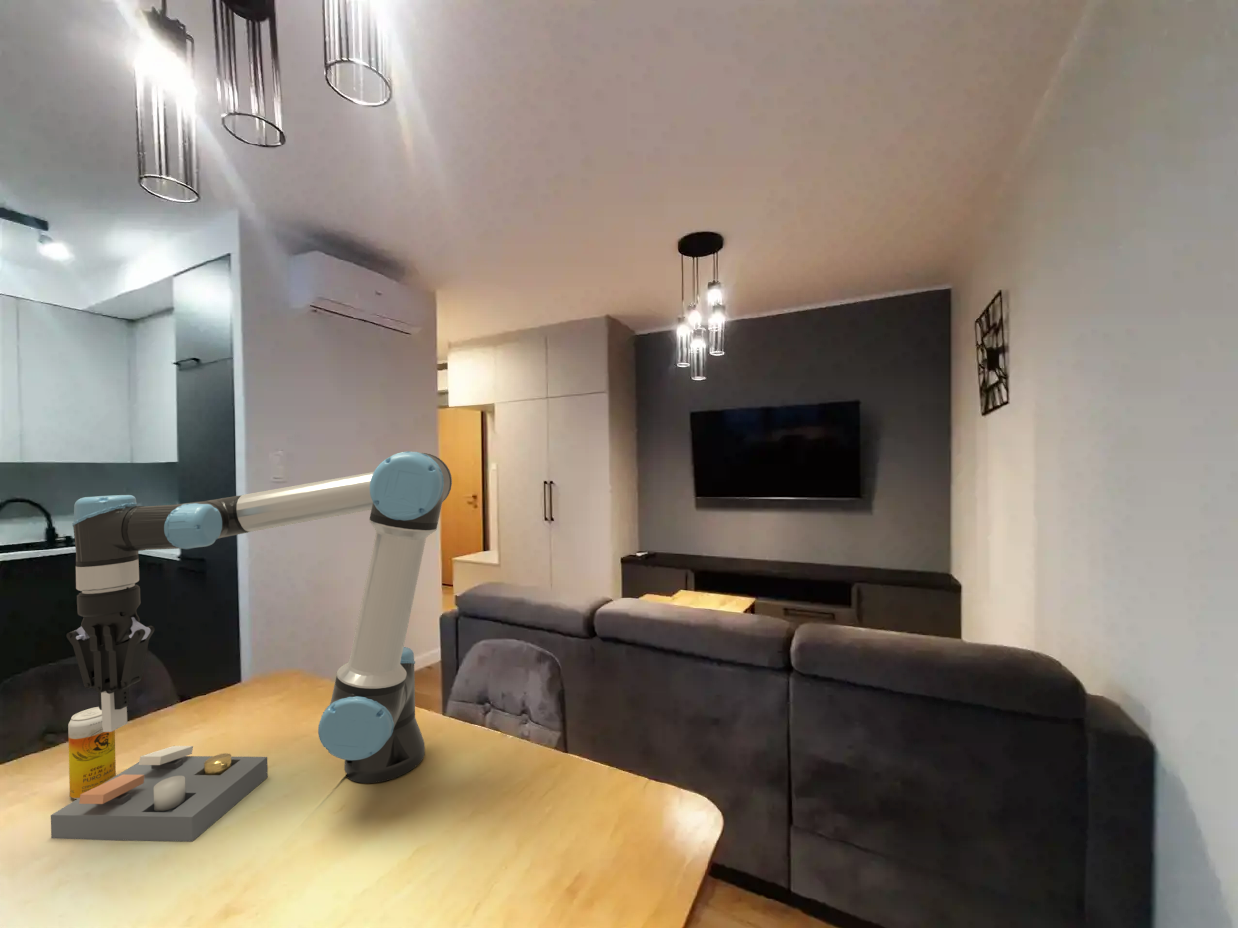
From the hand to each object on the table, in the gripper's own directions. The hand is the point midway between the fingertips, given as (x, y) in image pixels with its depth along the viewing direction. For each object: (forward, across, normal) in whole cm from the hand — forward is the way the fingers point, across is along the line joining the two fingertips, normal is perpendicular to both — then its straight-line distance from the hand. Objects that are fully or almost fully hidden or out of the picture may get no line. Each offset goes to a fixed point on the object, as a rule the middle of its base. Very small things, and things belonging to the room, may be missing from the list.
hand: (115, 727), depth 87 cm
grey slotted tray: (+17, -3, -6) cm, 19 cm away
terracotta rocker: (+11, +2, -1) cm, 11 cm away
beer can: (+17, +15, -10) cm, 25 cm away
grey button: (+14, -8, -1) cm, 16 cm away
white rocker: (+11, +2, -11) cm, 16 cm away
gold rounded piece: (+16, -8, -11) cm, 21 cm away
